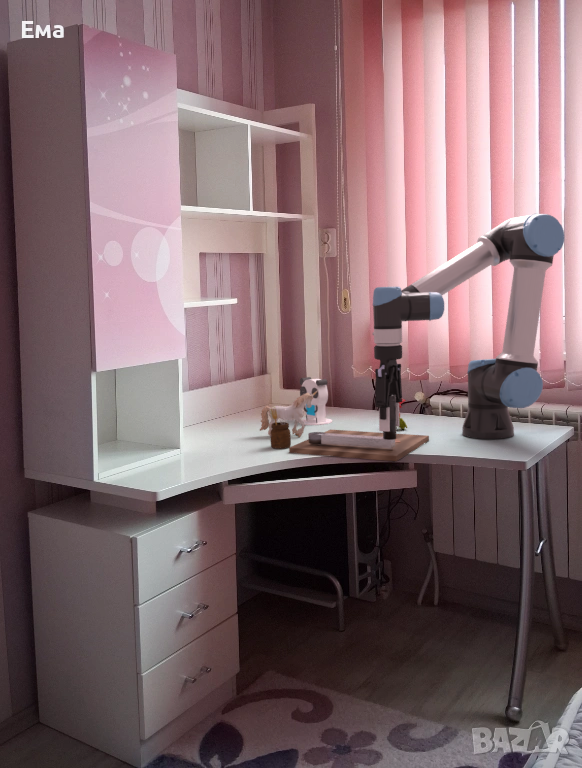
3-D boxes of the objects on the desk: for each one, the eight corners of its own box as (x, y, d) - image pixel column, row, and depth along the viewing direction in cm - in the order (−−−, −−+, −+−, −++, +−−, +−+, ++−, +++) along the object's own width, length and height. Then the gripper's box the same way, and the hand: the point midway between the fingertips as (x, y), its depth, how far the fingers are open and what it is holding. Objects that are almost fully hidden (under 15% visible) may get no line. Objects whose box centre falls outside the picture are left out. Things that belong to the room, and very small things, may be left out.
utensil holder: (294, 445, 235) (293, 405, 233) (283, 450, 230) (281, 409, 228) (278, 444, 238) (276, 404, 237) (266, 448, 233) (264, 407, 231)
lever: (305, 443, 227) (303, 393, 225) (313, 439, 231) (311, 390, 230) (392, 449, 215) (392, 396, 213) (399, 445, 219) (398, 393, 217)
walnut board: (428, 440, 236) (428, 435, 235) (396, 461, 211) (396, 455, 211) (330, 434, 250) (330, 428, 250) (289, 452, 226) (289, 446, 226)
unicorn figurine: (324, 435, 248) (323, 393, 247) (262, 440, 245) (261, 397, 243) (319, 431, 255) (317, 390, 254) (259, 436, 252) (257, 394, 250)
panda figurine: (291, 421, 275) (290, 378, 273) (318, 417, 281) (317, 375, 279) (311, 426, 265) (310, 381, 263) (339, 422, 271) (337, 378, 269)
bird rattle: (383, 434, 258) (390, 427, 250) (379, 401, 261) (386, 393, 253) (402, 433, 259) (410, 426, 251) (398, 400, 262) (405, 392, 254)
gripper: (387, 341, 225) (389, 421, 228) (360, 347, 207) (362, 434, 210) (413, 341, 221) (414, 422, 224) (388, 347, 204) (389, 436, 207)
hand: (389, 428), depth 217 cm, fingers open, 7 cm apart
